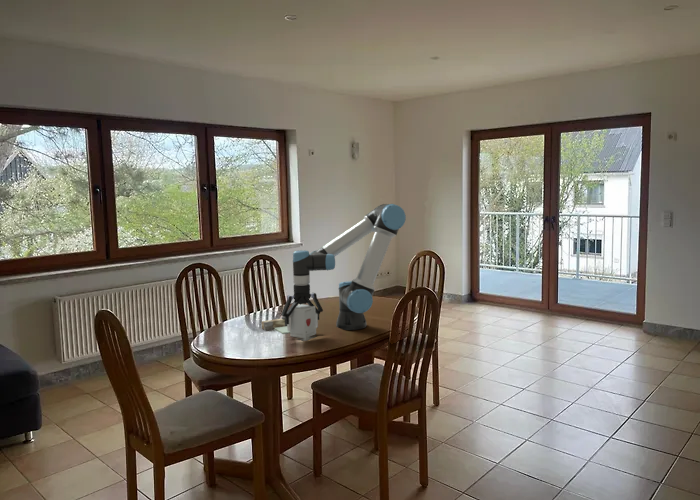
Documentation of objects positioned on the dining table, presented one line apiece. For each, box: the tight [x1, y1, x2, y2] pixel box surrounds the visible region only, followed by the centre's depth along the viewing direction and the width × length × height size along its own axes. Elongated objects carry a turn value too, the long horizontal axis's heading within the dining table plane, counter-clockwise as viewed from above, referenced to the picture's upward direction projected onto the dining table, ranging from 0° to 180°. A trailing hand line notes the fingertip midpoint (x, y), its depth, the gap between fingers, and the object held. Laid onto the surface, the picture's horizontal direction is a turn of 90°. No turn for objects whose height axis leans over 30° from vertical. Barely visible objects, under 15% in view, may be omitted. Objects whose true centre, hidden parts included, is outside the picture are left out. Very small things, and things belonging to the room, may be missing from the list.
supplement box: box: [289, 304, 317, 342], centre depth 253 cm, size 9×9×15 cm
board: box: [263, 320, 274, 331], centre depth 269 cm, size 28×22×5 cm
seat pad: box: [273, 326, 290, 335], centre depth 264 cm, size 11×11×1 cm
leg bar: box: [261, 316, 287, 330], centre depth 270 cm, size 14×4×4 cm, turn 118°
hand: (302, 329), depth 253 cm, fingers open, 13 cm apart
